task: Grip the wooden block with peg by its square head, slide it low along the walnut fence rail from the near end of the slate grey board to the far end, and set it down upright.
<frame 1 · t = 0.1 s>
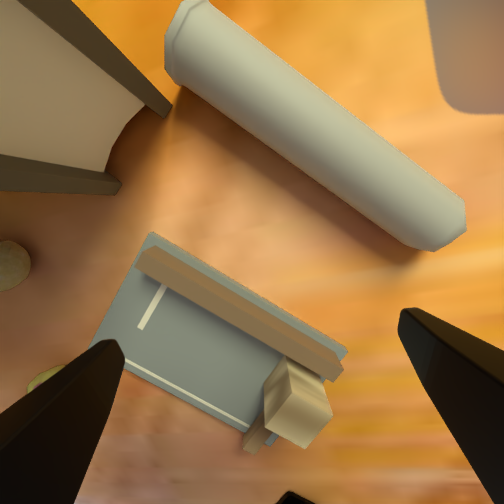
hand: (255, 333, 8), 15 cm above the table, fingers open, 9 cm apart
board: (216, 345, 25), on the table
book: (31, 64, 20), on the table
tube: (318, 151, 21), on the table
figurine: (52, 402, 28), on the table
wooden block with peg: (290, 377, 25), point 1 cm above the table, touching board
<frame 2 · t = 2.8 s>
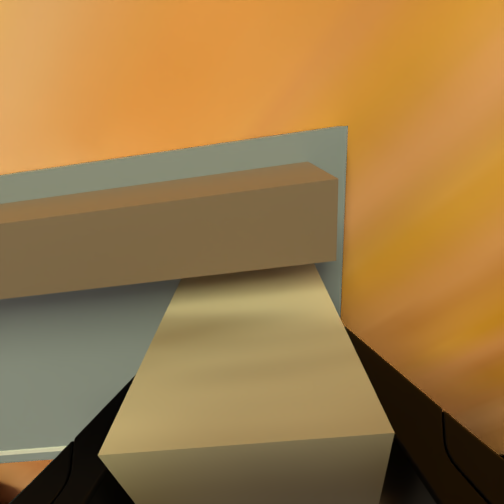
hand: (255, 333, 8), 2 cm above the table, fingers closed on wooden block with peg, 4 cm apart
board: (73, 346, 10), on the table
wooden block with peg: (254, 312, 9), point 1 cm above the table, touching board, gripper
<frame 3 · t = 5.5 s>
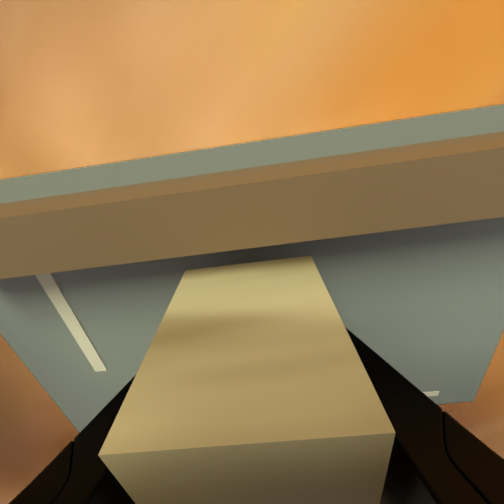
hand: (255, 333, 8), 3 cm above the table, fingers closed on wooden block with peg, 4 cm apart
board: (249, 310, 11), on the table
wooden block with peg: (255, 312, 9), point 2 cm above the table, touching gripper
when the fingers open (2 cm above the table, at t = 8.4 s): wooden block with peg stays where it is, resting on board.
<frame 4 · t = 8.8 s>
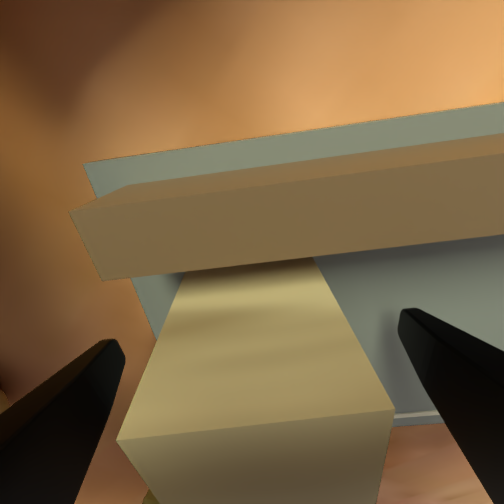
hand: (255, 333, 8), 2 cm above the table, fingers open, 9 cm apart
board: (430, 305, 10), on the table
wooden block with peg: (255, 307, 9), point 1 cm above the table, touching board
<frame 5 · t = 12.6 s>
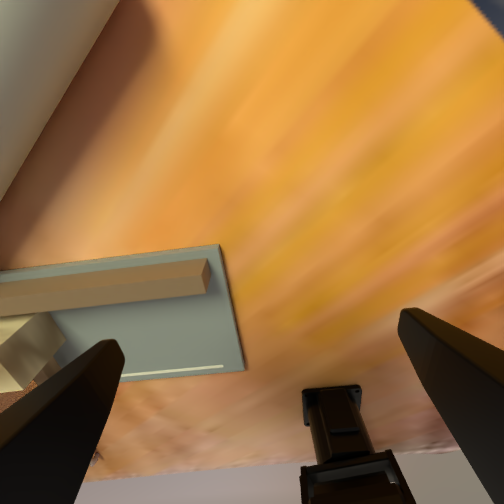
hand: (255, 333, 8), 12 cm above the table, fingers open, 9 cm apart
board: (119, 324, 23), on the table
tube: (10, 126, 16), on the table
wooden block with peg: (34, 326, 22), point 1 cm above the table, touching board
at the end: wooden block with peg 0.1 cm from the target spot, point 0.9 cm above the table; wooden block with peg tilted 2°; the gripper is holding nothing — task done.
